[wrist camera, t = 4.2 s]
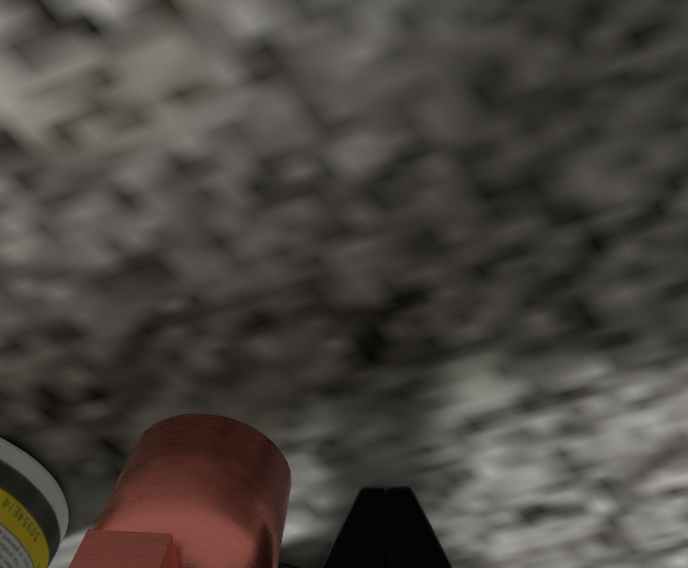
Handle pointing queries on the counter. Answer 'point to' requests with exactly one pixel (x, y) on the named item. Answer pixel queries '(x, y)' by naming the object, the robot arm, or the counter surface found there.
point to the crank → (194, 500)
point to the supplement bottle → (28, 511)
